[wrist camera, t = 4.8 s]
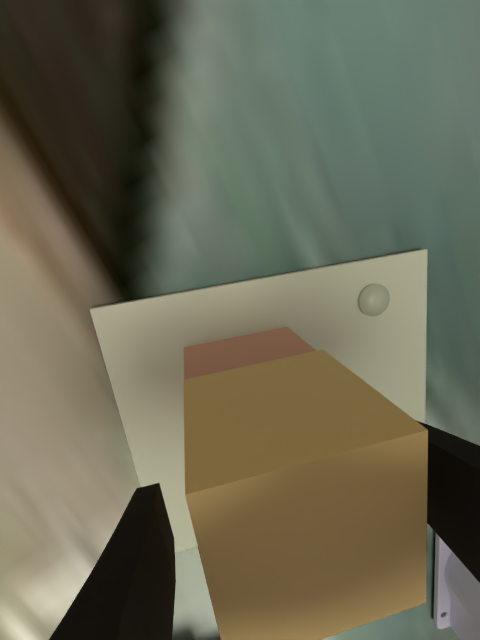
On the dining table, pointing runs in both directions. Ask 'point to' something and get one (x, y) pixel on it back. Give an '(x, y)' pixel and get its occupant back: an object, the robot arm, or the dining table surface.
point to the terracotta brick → (242, 351)
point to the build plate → (253, 317)
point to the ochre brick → (304, 498)
